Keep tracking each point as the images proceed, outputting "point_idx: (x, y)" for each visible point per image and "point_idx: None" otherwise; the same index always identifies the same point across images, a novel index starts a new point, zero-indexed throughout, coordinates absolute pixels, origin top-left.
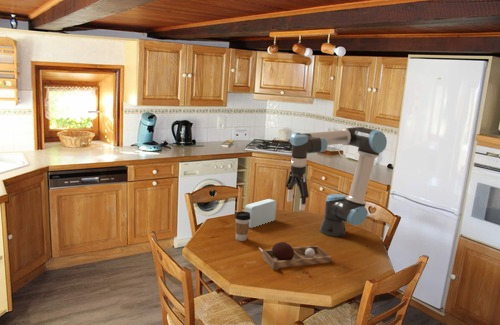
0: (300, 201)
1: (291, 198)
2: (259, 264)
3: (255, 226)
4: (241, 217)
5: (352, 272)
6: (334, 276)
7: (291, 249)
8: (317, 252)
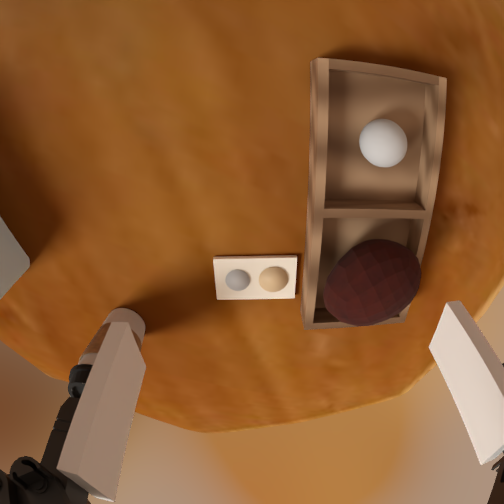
0: (474, 422)
1: (123, 366)
2: (345, 329)
3: (13, 238)
4: None
5: (491, 50)
6: (497, 131)
7: (418, 276)
8: (337, 71)
